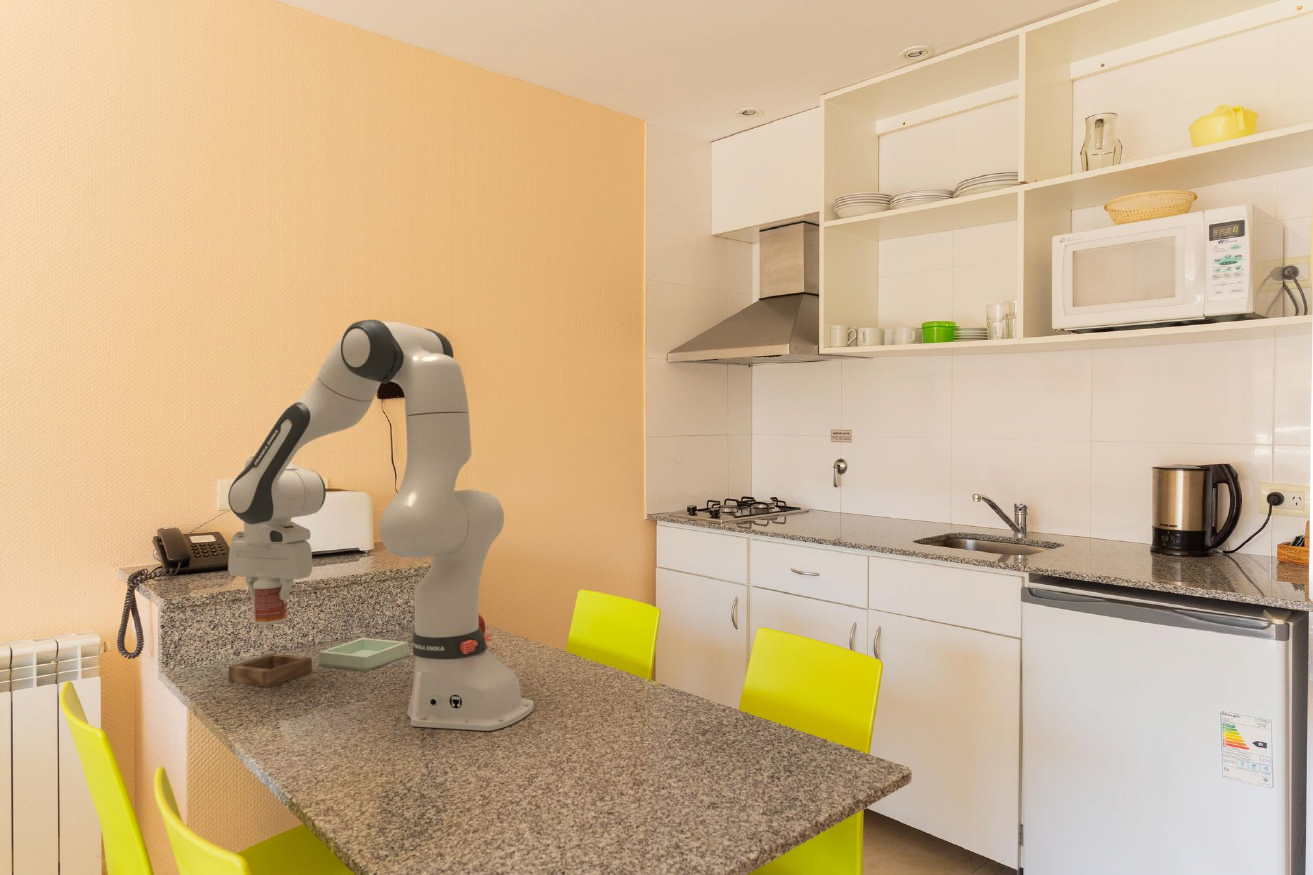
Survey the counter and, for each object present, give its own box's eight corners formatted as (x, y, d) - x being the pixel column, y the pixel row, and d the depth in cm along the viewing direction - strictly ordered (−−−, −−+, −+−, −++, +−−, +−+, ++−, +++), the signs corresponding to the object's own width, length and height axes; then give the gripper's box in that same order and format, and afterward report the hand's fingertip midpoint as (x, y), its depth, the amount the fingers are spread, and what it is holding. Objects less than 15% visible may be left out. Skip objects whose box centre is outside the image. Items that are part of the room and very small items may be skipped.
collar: (311, 671, 170) (311, 657, 170) (268, 687, 160) (268, 672, 160) (273, 666, 175) (273, 653, 175) (228, 681, 165) (228, 666, 165)
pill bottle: (291, 621, 167) (290, 568, 167) (260, 627, 163) (258, 572, 163) (281, 617, 172) (279, 565, 172) (250, 622, 167) (248, 569, 167)
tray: (407, 655, 182) (407, 642, 182) (366, 671, 170) (365, 657, 170) (362, 650, 187) (362, 637, 187) (319, 665, 175) (319, 651, 175)
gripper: (219, 533, 169) (221, 599, 168) (292, 534, 161) (294, 604, 160) (245, 529, 174) (247, 593, 174) (316, 531, 166) (318, 598, 166)
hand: (270, 598), depth 167 cm, fingers closed on pill bottle, 6 cm apart
